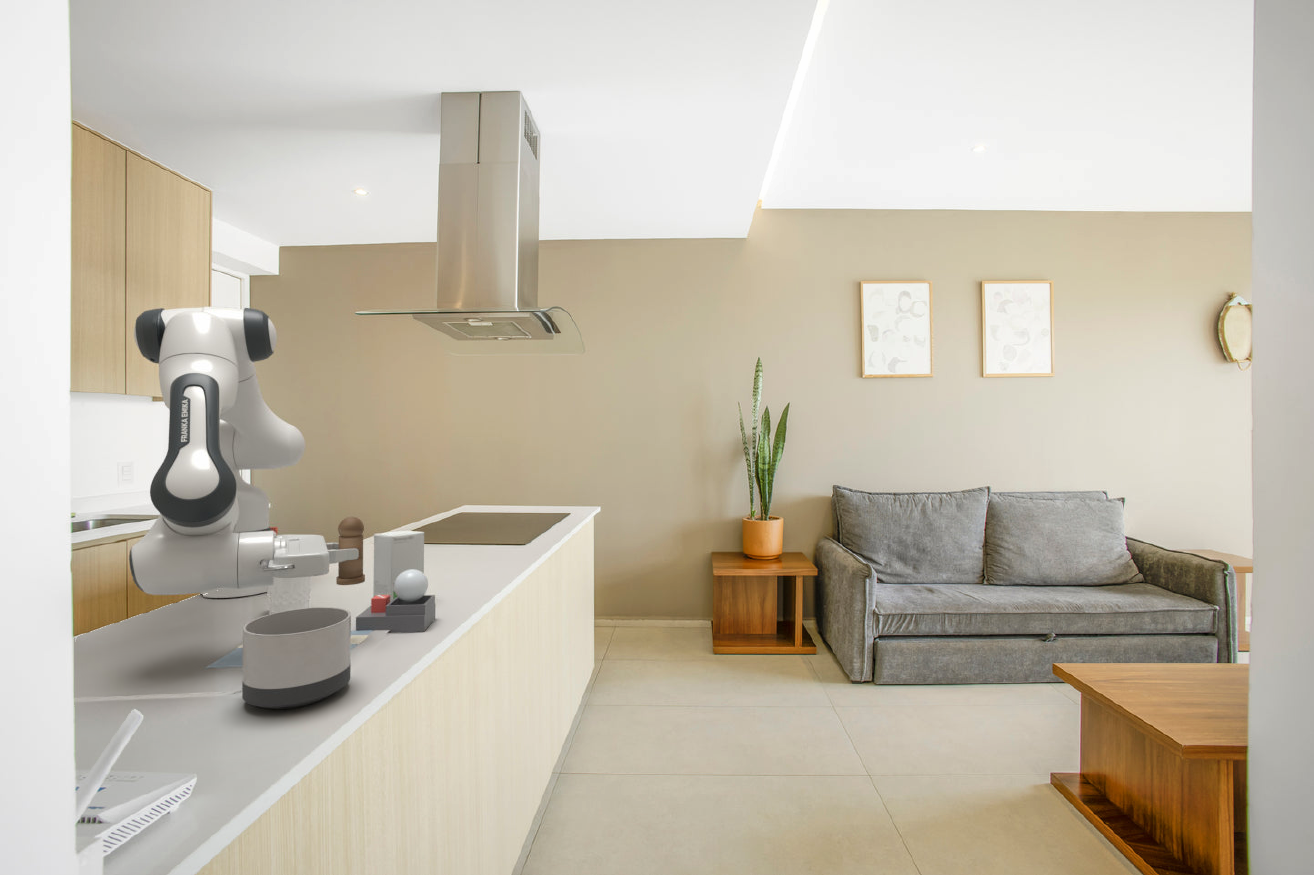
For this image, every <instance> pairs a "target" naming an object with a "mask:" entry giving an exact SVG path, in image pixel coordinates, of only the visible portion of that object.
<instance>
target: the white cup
mask: <svg viewBox="0 0 1314 875" xmlns="http://www.w3.org/2000/svg"><path fill="white" fill-rule="evenodd" d="M311 583H312V576H310V577H296V578H276V577H274V584H273V585H270V586H267V592H266V594H267V595H266V597H267V604H268V611H269V612H268V615H269V614H273V613H277V612H282V611H287V610H294V609H301V608H309V603H310V601H309V600H310V597H311V596H310V595H311Z"/></svg>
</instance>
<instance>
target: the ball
mask: <svg viewBox="0 0 1314 875" xmlns="http://www.w3.org/2000/svg"><path fill="white" fill-rule="evenodd" d="M428 588H429V580H428V578H427V576H426V575H425V572H424V573H422V572H421V571H419V570H415V569H410V570H406V571H404V572H402V573H401V574H400V575H399V576H398V577H397V578H396V580H395V583H394V591H395V594H396V595H397V597H398V598H400V599H401V600H403V601H406V602H413V601H416V600H418V599H420V598H421V597H423V595H426V593H427V590H428Z"/></svg>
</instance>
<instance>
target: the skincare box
mask: <svg viewBox="0 0 1314 875" xmlns="http://www.w3.org/2000/svg"><path fill="white" fill-rule="evenodd" d="M424 563H425V532H424V531H417V530H416V531H414V530H400V531H399V530H398V531H389V532H380V533H374V534H373V592H372V598H373V597H374V596H376V595H390V602H391V601H392V600H393V599H395V598H396V597H397V595H396V594H395V591H394V583H395V580H396V578H397V577H398V576H399V575H400V574H401V573H402V572H404V571H406V570H410V569H415V570H419V571H421V572H422V573H424V574H425V571H424V570H425V564H424Z"/></svg>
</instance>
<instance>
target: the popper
mask: <svg viewBox="0 0 1314 875" xmlns="http://www.w3.org/2000/svg"><path fill="white" fill-rule="evenodd" d="M370 604H371V605H370V606H369V607H367V608H366V609H365V610H364V611H362V612H361V613H360V614H358V615H357V616H356V617H355V631H359V630H373V631H387V634H390V633H389V632H401V633H418V632H417V631H420V632H419V633H422V632H421V631H425V632H426V631H427V629H428V628H429V627H430V626H431V624H432V623H433V622H434V621H435V620H436V595H435V594H424V595H423V597H421V598H420V599H418V600H416V601H413V602H406V601H403V600H401V599H400V598H398V597H396V598H395V599H393V600H392V601H391V602H390V595H376V596H374V597H373V596H372V597H371V598H370ZM434 619H435V620H434ZM433 620H434V621H433ZM431 622H432V623H431ZM430 623H431V624H430ZM429 625H430V626H429ZM428 626H429V627H428ZM427 627H428V628H427ZM426 628H427V629H426Z"/></svg>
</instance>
